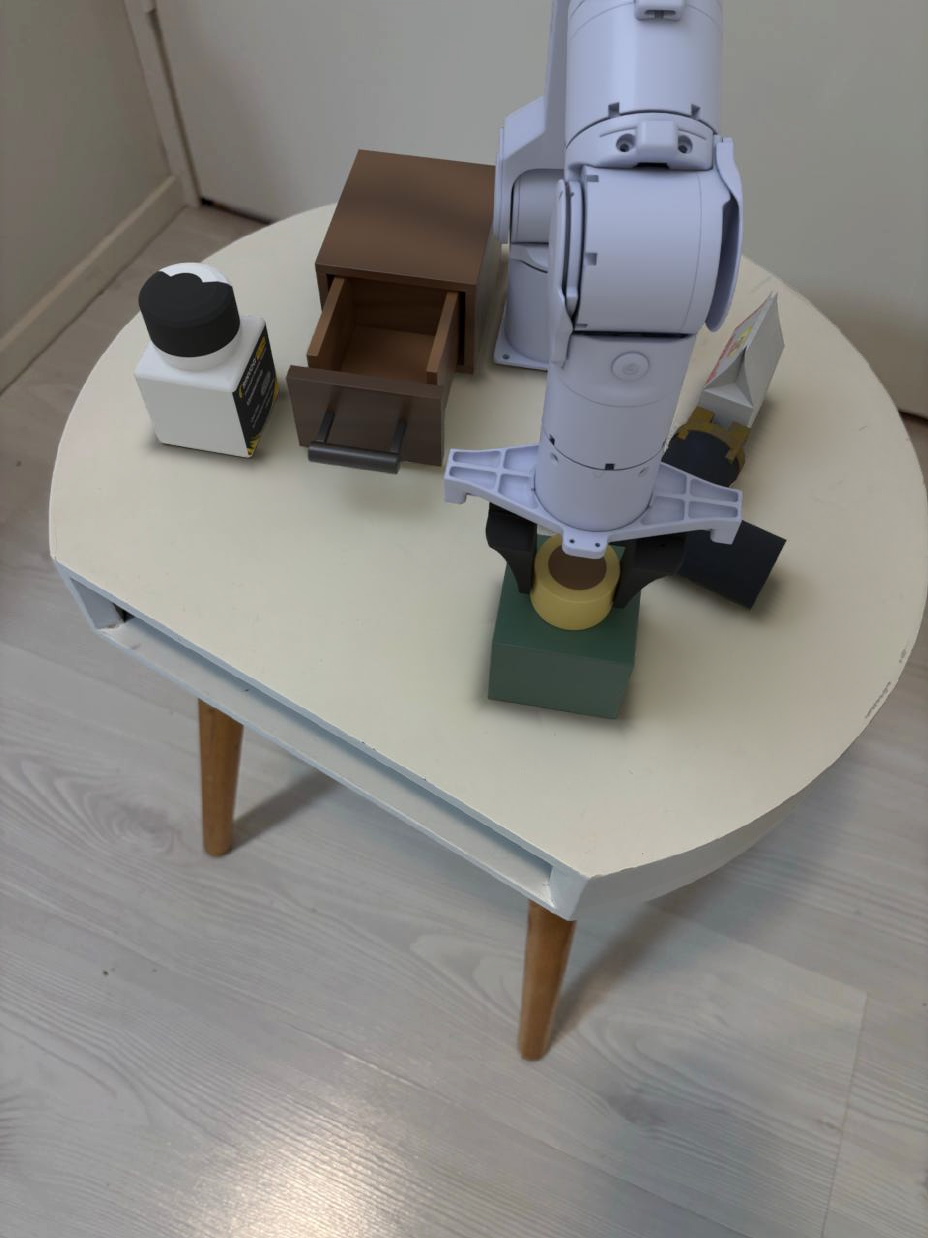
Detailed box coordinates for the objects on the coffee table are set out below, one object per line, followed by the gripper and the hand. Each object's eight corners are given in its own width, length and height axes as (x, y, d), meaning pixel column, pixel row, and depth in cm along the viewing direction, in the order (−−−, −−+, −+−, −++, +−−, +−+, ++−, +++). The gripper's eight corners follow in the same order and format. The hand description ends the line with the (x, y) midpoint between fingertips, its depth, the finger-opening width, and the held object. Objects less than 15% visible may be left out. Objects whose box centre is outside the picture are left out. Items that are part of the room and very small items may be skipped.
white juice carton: (761, 405, 73) (802, 299, 65) (731, 466, 70) (771, 363, 61) (715, 388, 74) (750, 281, 65) (684, 447, 71) (716, 344, 62)
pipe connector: (626, 368, 68) (831, 454, 64) (616, 420, 72) (806, 503, 68) (548, 480, 63) (765, 581, 59) (542, 528, 67) (743, 624, 63)
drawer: (430, 512, 66) (428, 446, 61) (283, 490, 67) (268, 423, 61) (471, 344, 75) (473, 272, 69) (340, 326, 76) (331, 253, 70)
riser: (626, 610, 64) (645, 549, 58) (615, 719, 59) (633, 665, 53) (506, 592, 64) (512, 529, 58) (487, 698, 60) (491, 643, 54)
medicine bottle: (251, 460, 70) (218, 332, 59) (158, 444, 70) (108, 315, 60) (281, 389, 73) (254, 257, 63) (191, 374, 74) (150, 241, 64)
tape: (616, 567, 57) (624, 536, 54) (608, 636, 54) (616, 608, 52) (535, 555, 57) (540, 524, 55) (524, 623, 55) (528, 594, 52)
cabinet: (473, 375, 74) (476, 284, 67) (327, 354, 75) (314, 263, 68) (501, 259, 81) (506, 166, 74) (366, 242, 82) (358, 148, 75)
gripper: (430, 466, 42) (434, 625, 54) (767, 515, 41) (696, 667, 52) (458, 352, 46) (456, 525, 57) (769, 394, 44) (702, 561, 56)
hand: (572, 586), depth 55 cm, fingers closed on tape, 5 cm apart
